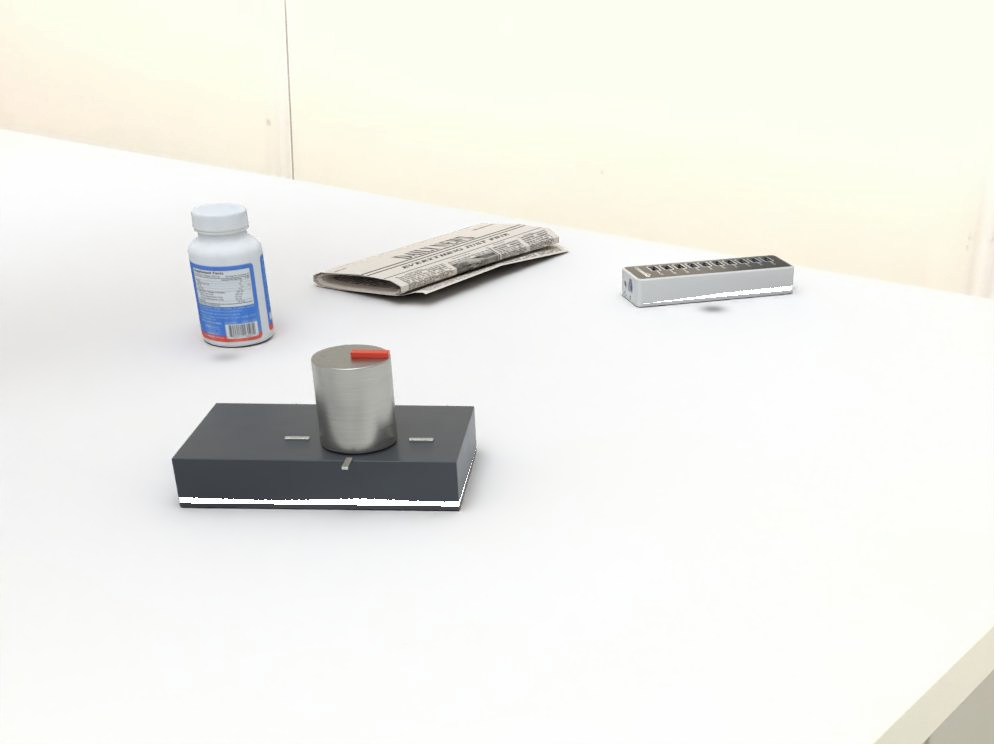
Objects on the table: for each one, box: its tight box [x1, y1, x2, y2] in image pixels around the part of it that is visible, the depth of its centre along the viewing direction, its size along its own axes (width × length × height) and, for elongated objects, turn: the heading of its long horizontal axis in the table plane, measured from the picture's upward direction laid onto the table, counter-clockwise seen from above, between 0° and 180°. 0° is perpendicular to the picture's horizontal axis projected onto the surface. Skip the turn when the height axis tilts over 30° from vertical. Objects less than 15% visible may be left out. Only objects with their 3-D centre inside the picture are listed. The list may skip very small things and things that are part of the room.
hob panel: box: [171, 402, 478, 511], centre depth 79 cm, size 16×10×3 cm, turn 90°
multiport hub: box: [621, 254, 795, 308], centre depth 115 cm, size 4×14×2 cm, turn 110°
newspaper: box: [312, 222, 570, 297], centre depth 121 cm, size 23×12×2 cm, turn 146°
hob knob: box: [310, 343, 398, 454], centre depth 76 cm, size 4×4×5 cm
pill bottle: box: [187, 202, 274, 348], centre depth 101 cm, size 6×5×10 cm
